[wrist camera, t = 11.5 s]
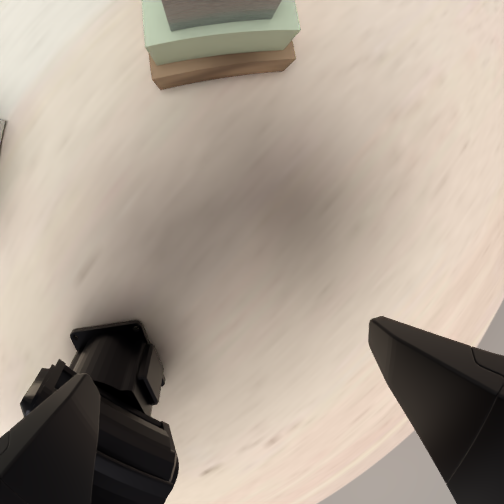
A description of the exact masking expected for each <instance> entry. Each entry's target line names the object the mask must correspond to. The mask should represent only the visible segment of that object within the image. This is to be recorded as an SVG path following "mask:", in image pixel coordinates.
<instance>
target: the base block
mask: <svg viewBox="0 0 504 504" xmlns="http://www.w3.org/2000/svg"><path fill="white" fill-rule="evenodd" d="M295 59H296V56H295V51H294V46H293V42H292V41H291V42H290V43H289V44H288V45H287V47H286V48H285V49H284V50H276V51H258V52H245V53H234V54H225V55H217V56H209V57H202V58H196V59H190V60H184V61H178V62H173V63H168V64H163V65H158V66H157V65H156V63H155V62H154V60H153V59H152V57H151V55H150V54H149V60H150V68H151V75H152V80H153V81H154V83H155V84H156V85H157V86H158V87H159V89H160V90H162V89H167V88H171V87H176V86H180V85H185V84H190V83H195V82H201V81H206V80H212V79H218V78H225V77H232V76H239V75H247V74H256V73H265V72H276V71H284V70H285V69H286V68H287V67H288V66H289V65H290V64H291V63H292V62H293V61H294V60H295Z"/></svg>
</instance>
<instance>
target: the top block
mask: <svg viewBox="0 0 504 504" xmlns="http://www.w3.org/2000/svg"><path fill="white" fill-rule="evenodd" d="M142 12H143V27H144V40H145V48H146V49H147V51H148V52H149V54H150V55H151V57H152V59H153V60H154V62H155V63H156V65H157V66H158V65H163V64H168V63H173V62H178V61H184V60H190V59H196V58H202V57H209V56H217V55H225V54H234V53H245V52H258V51H276V50H284V49H285V48H286V47H287V45H288V44H289V43H290V42H291V41H292V39H293V38H294V37H295V36H296V35H297V34H298V32H299V31H300V30H301V29H300V24H299V19H298V14H297V9H296V4H295V0H282V1H281V3H280V4H279V6H278V8H277V10H276V12H275V13H274V15H273V17H272V19H266V20H250V21H238V22H229V23H220V24H212V25H205V26H199V27H193V28H187V29H182V30H176V31H171V30H170V27H169V24H168V21H167V17H166V14H165V11H164V7H163V4H162V1H161V0H142Z"/></svg>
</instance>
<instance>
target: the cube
mask: <svg viewBox="0 0 504 504" xmlns="http://www.w3.org/2000/svg"><path fill="white" fill-rule="evenodd" d="M161 1H162V4H163V7H164V11H165V14H166V17H167V21H168V24H169V27H170V30H171V31H176V30H182V29H187V28H193V27H199V26H205V25H212V24H220V23H229V22H238V21H250V20H266V19H272V17H273V15H274V13H275V12H276V10H277V8H278V6H279V4H280V3H281V1H282V0H161Z"/></svg>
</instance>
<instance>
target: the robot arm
mask: <svg viewBox="0 0 504 504" xmlns="http://www.w3.org/2000/svg"><path fill="white" fill-rule="evenodd" d="M134 326H137V327H138V328H139V329H136V328H134ZM75 335H77V336H78V337H76V336H75ZM70 337H71V340H72V342H73V344H74V346H75V348H76V350H77V353H76V355H75V357H74V359H73V361H72V362H71V364H70V366H69V367H67V366H66V365H65V364H66V363H64V362H63V361H61V360H60V359H59V360H58V362H57V364H56V365H55V366H54V365H53V364H52V366H51V368H50V369H46V368H42V369H41V371H40V372H39V374H38V376H37V377H36V379H35V381H34V382H33V384H32V386H31V387H30V388H29V390H28V391H27V393H26V394H25V396H24V397H23V399H22V401H21V403H20V406H21V409H22V412H23V415H24V418H23V419H22V420H21V421H20V422H18V423H17V424H16V425H15V426H14V427H12V428H11V429H10V431H8V432H6V433H5V434H4V435H3V436H2V437H1V438H0V504H164V503H165V500H166V498H167V497H168V495H169V494H170V492H171V490H172V489H173V486H174V484H175V482H176V479H177V475H178V470H179V462H178V457H177V454H176V450H175V446H174V443H173V439H172V435H171V431H170V427H169V424H167V423H165V422H163V421H161V422H160V421H158V420H156V419H154V418H152V417H151V411H152V405H157V404H158V402H159V397H160V390H161V387H162V386H164V384H165V378H164V376H163V367H162V364H161V362H160V359H159V357H158V354H157V352H156V349H155V347H154V345H152V344H150V342H149V340H148V337H147V335H146V332H145V330H144V327H143V325H142V323H141V322H140V321H129V322H122V323H116V324H110V325H103V326H97V327H90V328H83V329H76V330H73V331H72V332H71V334H70ZM368 342H369V346H370V349H371V351H372V353H373V355H374V357H375V359H376V361H377V364H378V366H379V368H380V370H381V372H382V374H383V376H384V379H385V381H386V383H387V384H388V386H389V388H390V390H391V391H392V393H393V394H394V396H395V398H396V399H397V401H398V402H399V404H400V406H401V407H402V409H403V411H404V412H405V414H406V416H407V417H408V419H409V421H410V422H411V424H412V426H413V427H414V429H415V431H416V432H417V434H418V435H419V437H420V439H421V441H422V442H423V444H424V446H425V448H426V449H427V451H428V452H429V454H430V456H431V457H432V460H433V461H434V463H435V465H436V467H437V468H438V470H439V472H440V474H441V475H442V477H443V479H444V481H445V482H446V483H447V484H446V485H447V487H448V488H449V490H450V492H451V494H452V495H453V497H454V499H455V501H456V503H457V504H504V356H503V355H499V354H495V353H491V352H488V351H485V350H481V349H478V348H475V347H471V346H469V345H466V344H463V343H460V342H457V341H454V340H451V339H448V338H445V337H442V336H439V335H436V334H433V333H430V332H427V331H424V330H421V329H419V328H416V327H413V326H410V325H407V324H404V323H401V322H398V321H395V320H392V319H389V318H386V317H383V316H380V317H376V318H373V319H371V320H370V322H369V338H368Z"/></svg>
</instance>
